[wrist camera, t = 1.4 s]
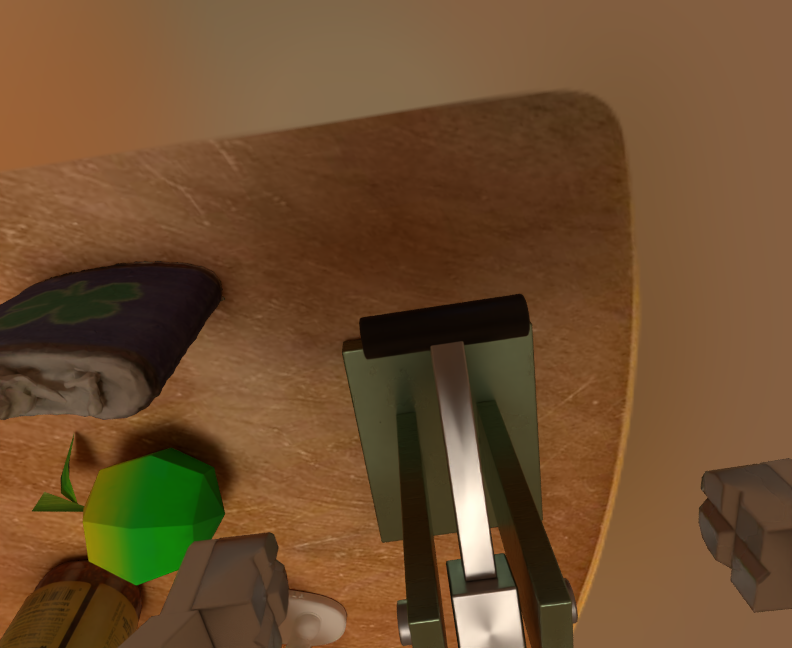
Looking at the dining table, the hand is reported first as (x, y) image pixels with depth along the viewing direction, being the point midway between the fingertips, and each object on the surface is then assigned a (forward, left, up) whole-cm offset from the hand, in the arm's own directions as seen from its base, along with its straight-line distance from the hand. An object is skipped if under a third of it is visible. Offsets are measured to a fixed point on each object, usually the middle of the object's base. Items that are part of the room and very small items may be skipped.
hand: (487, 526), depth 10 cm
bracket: (+9, 0, -17) cm, 19 cm away
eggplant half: (-1, -14, -17) cm, 22 cm away
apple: (+9, -16, -17) cm, 25 cm away
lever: (+5, 0, -8) cm, 10 cm away
